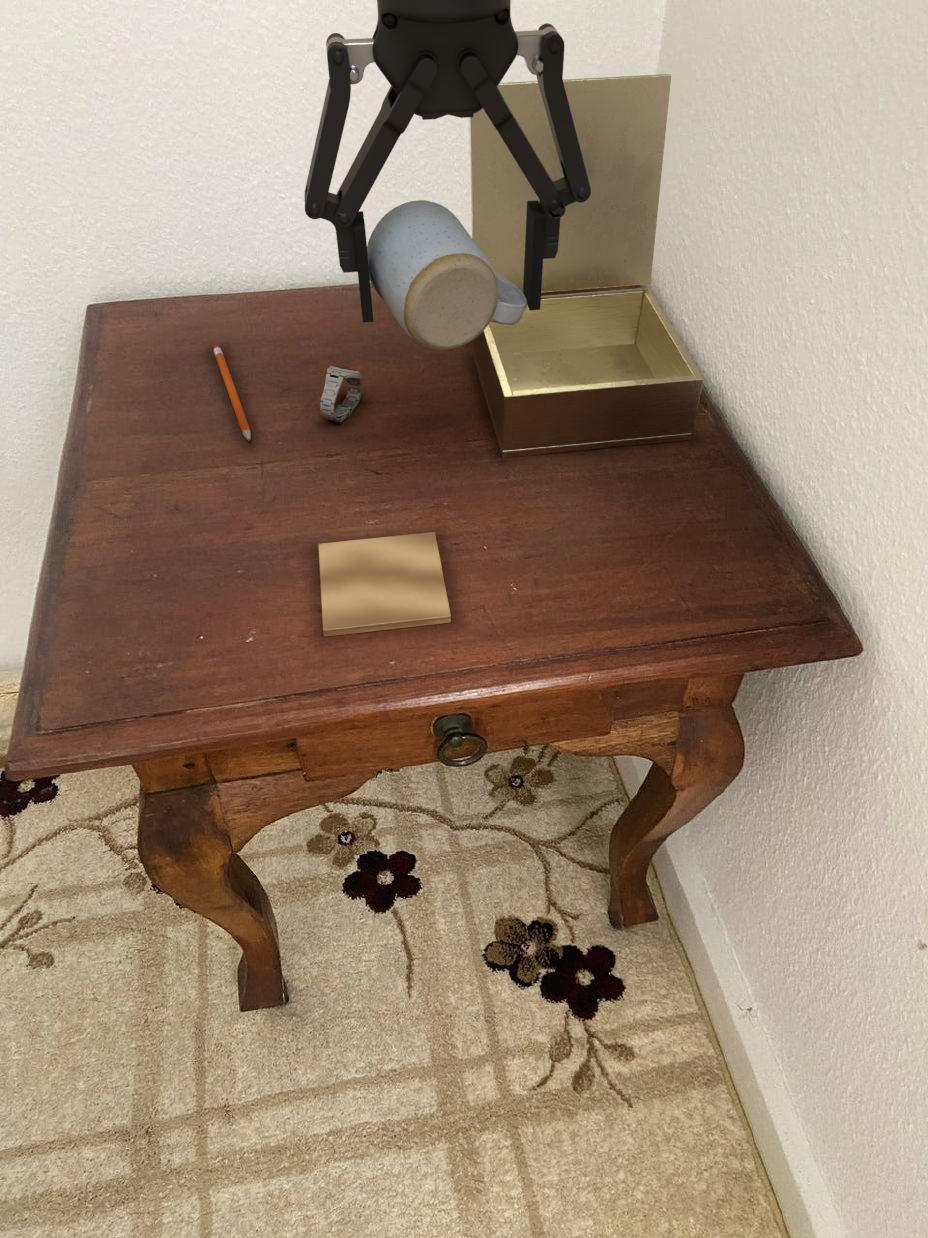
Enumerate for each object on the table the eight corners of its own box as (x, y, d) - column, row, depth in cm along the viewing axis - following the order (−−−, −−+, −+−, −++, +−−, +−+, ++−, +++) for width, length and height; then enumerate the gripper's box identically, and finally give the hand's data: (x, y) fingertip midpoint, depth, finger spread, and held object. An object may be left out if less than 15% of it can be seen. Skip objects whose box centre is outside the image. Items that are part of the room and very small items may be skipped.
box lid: (671, 74, 79) (653, 68, 83) (469, 85, 78) (461, 78, 82) (650, 284, 91) (636, 269, 95) (474, 297, 89) (467, 282, 93)
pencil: (221, 350, 96) (219, 343, 96) (256, 446, 84) (254, 438, 84) (213, 351, 96) (211, 344, 96) (247, 448, 84) (245, 441, 84)
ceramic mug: (406, 367, 59) (402, 256, 54) (368, 312, 64) (359, 205, 59) (545, 337, 62) (555, 229, 57) (498, 287, 67) (502, 183, 62)
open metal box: (690, 440, 85) (704, 378, 80) (502, 458, 83) (504, 396, 78) (639, 345, 96) (648, 287, 91) (473, 359, 95) (473, 300, 90)
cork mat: (451, 622, 69) (451, 616, 68) (324, 637, 68) (322, 630, 67) (435, 538, 75) (435, 531, 75) (319, 550, 74) (318, 543, 74)
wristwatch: (370, 400, 90) (366, 356, 86) (343, 433, 86) (337, 389, 82) (340, 393, 90) (335, 349, 87) (311, 425, 87) (304, 381, 83)
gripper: (639, -100, 50) (598, 271, 66) (221, -86, 48) (284, 293, 64) (678, -74, 45) (623, 320, 61) (213, -58, 43) (283, 346, 59)
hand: (449, 306), depth 62 cm, fingers closed on ceramic mug, 11 cm apart
